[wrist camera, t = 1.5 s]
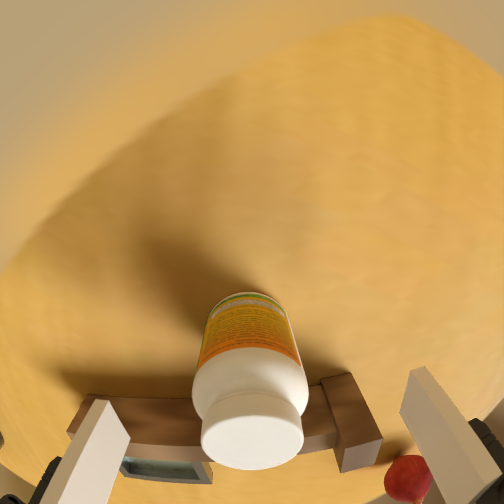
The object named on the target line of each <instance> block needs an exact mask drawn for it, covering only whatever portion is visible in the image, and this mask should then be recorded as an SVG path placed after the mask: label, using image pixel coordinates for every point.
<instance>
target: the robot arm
mask: <svg viewBox="0 0 504 504" xmlns="http://www.w3.org/2000/svg"><path fill="white" fill-rule="evenodd" d="M399 413H400V415H401V417H402V418H403V420H404V422H405V424H406V426H407V428H408V429H409V431H410V433H411V435H412V437H413V439H414V441H415V442H416V444H417V446H418V448H419V450H420V452H421V454H422V456H423V458H424V460H425V462H426V464H427V465H428V467H429V469H430V471H431V473H432V475H433V477H434V479H435V481H436V483H437V485H438V487H439V489H440V491H441V494H442V496H443V498H444V500H445V502H446V504H474V503H475V502H476V504H504V448H503V447H502V445H501V444H500V443H499V441H498V440H496V437H495V436H494V434H491V431H490V429H489V428H488V426H487V425H486V424H485V423H484V422H482V421H480V420H479V419H477V418H474V419H472V420H470V421H469V422H467V421H466V419H465V418H464V417H463V415H462V414H461V413H460V411H459V410H458V409H457V407H456V406H455V405H454V403H453V402H452V401H451V399H450V398H449V397H448V395H447V394H446V393H445V391H444V390H443V389H442V388H441V386H440V385H439V384H438V382H437V381H436V380H435V379H434V377H433V376H432V375H431V373H430V372H429V371H428V370H427V368H426V367H425V366H423V367H420V368H417V369H414V370H411V371H410V374H409V378H408V382H407V386H406V390H405V394H404V398H403V402H402V405H401V409H400V412H399ZM130 439H131V438H130V437H129V435H128V433H127V432H126V430H125V428H124V427H123V425H122V423H121V422H120V420H119V418H118V416H117V415H116V413H115V411H114V409H113V407H112V405H111V404H110V402H109V401H108V400H99V399H95V401H94V403H93V404H92V406H91V408H90V409H89V411H88V413H87V415H86V416H85V418H84V420H83V422H82V423H81V425H80V427H79V429H78V430H77V432H76V434H75V436H74V438H73V439H72V441H71V443H70V445H69V447H68V448H67V450H66V452H65V454H64V456H63V458H61V457H58V456H57V457H56V458H55V459H54V460H52V461H51V462H50V463H49V465H48V467H47V469H46V471H45V473H44V474H43V476H42V480H40V482H39V484H38V486H37V488H36V490H35V492H34V494H33V496H32V498H31V500H30V502H29V503H28V504H107V501H108V499H109V496H110V493H111V490H112V487H113V484H114V482H115V479H116V476H117V473H118V471H119V468H120V465H121V462H122V460H123V457H124V454H125V452H126V449H127V446H128V444H129V441H130ZM3 444H4V440H3V437H2V435H1V433H0V449H1V447H2V446H3ZM0 504H25V503H24V502H22V501H21V500H20V499H19V498H18V497H17V496H15V495H12V494H7V495H5V496H3V497H2V498H1V499H0Z"/></svg>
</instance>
